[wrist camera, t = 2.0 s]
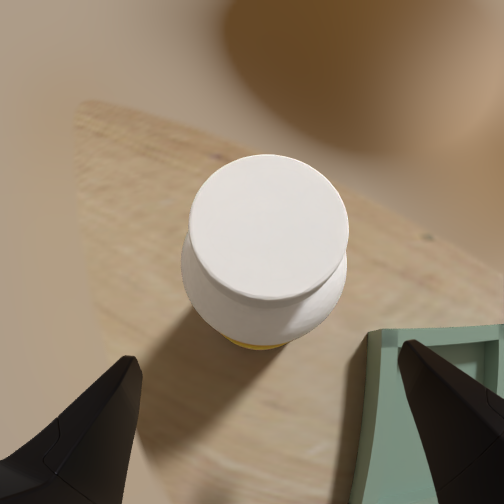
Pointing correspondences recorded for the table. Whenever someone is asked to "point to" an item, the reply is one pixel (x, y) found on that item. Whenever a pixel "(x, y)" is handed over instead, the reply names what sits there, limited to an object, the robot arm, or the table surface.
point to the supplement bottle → (265, 250)
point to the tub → (399, 414)
